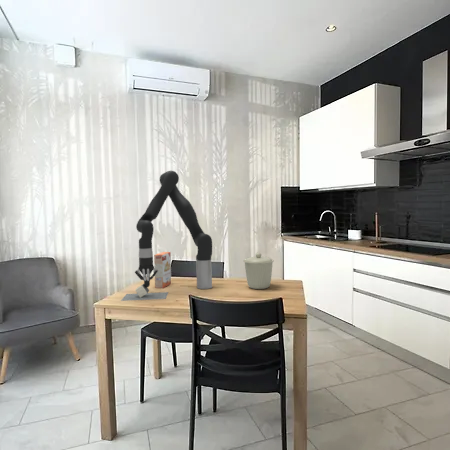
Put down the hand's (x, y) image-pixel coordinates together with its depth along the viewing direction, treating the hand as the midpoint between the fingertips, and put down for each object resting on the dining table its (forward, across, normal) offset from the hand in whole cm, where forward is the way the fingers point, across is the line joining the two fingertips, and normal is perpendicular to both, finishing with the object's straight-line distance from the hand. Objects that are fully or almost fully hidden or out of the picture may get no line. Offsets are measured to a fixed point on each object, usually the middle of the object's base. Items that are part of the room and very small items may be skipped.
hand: (147, 287), depth 184 cm
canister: (+6, -65, -11) cm, 66 cm away
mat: (+6, +1, 0) cm, 6 cm away
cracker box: (+6, -6, -25) cm, 26 cm away
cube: (0, 0, 0) cm, 1 cm away
